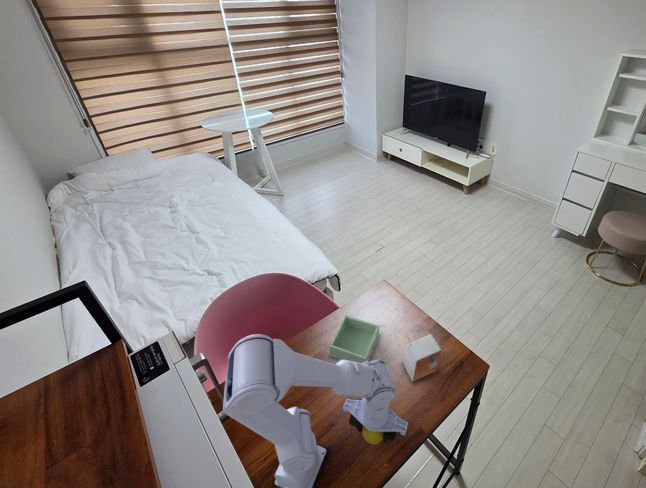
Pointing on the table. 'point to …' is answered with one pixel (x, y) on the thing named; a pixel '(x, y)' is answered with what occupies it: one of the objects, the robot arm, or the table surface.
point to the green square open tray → (354, 340)
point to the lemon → (372, 436)
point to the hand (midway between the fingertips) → (373, 432)
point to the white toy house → (422, 357)
